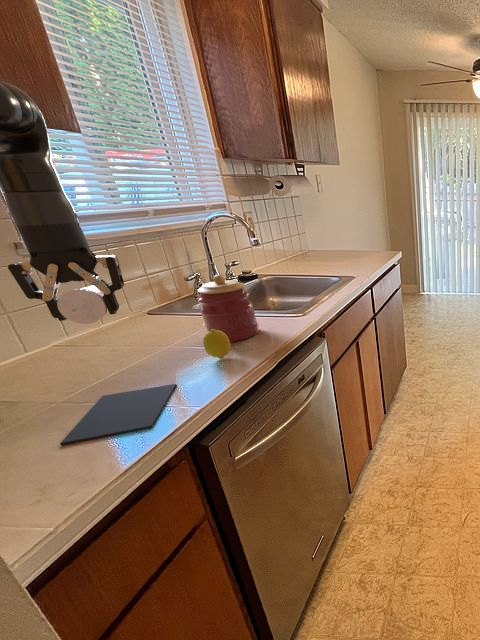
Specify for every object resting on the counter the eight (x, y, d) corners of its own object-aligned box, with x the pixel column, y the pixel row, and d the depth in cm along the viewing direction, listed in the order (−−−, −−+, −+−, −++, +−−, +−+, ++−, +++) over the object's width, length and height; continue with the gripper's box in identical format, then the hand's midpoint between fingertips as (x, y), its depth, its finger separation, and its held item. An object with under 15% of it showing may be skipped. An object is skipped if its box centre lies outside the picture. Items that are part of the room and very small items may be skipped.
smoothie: (114, 279, 79) (96, 295, 68) (120, 310, 82) (103, 330, 71) (69, 278, 76) (43, 294, 65) (77, 310, 78) (52, 332, 67)
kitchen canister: (198, 342, 112) (177, 279, 104) (232, 326, 123) (215, 269, 116) (238, 344, 110) (220, 281, 102) (269, 328, 121) (255, 270, 114)
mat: (61, 445, 68) (59, 443, 68) (103, 397, 83) (102, 395, 83) (152, 428, 73) (151, 425, 73) (176, 385, 88) (176, 383, 88)
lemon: (223, 364, 98) (214, 333, 95) (203, 362, 99) (193, 332, 96) (239, 355, 103) (230, 325, 100) (220, 353, 104) (211, 325, 101)
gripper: (-26, 225, 60) (27, 329, 67) (97, 220, 67) (134, 315, 74) (-3, 221, 66) (44, 317, 73) (108, 217, 73) (141, 305, 80)
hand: (89, 316), depth 73 cm, fingers closed on smoothie, 6 cm apart
